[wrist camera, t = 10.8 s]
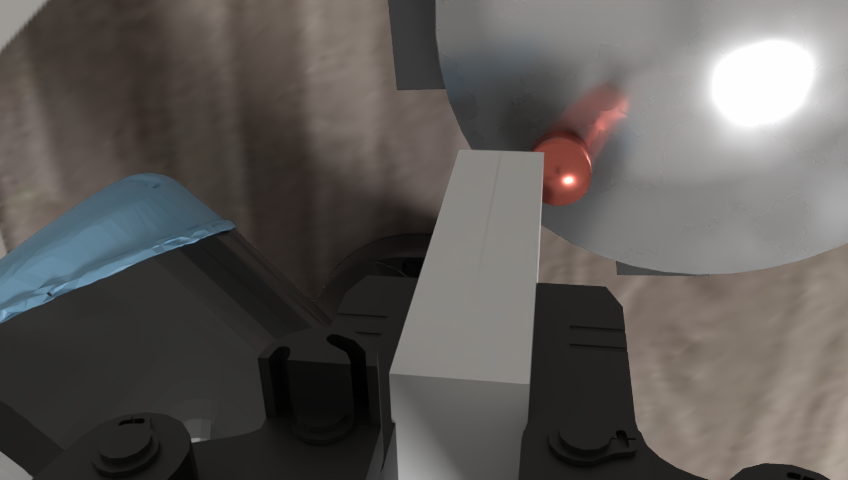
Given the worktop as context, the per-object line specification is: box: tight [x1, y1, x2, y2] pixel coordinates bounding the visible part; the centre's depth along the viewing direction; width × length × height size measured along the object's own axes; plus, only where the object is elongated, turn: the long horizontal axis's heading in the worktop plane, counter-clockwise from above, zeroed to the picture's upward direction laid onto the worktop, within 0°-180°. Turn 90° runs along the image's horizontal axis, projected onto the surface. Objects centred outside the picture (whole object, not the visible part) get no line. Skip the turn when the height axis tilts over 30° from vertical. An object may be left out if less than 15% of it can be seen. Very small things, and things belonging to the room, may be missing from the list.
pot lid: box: [436, 0, 848, 274], centre depth 28 cm, size 20×20×3 cm
